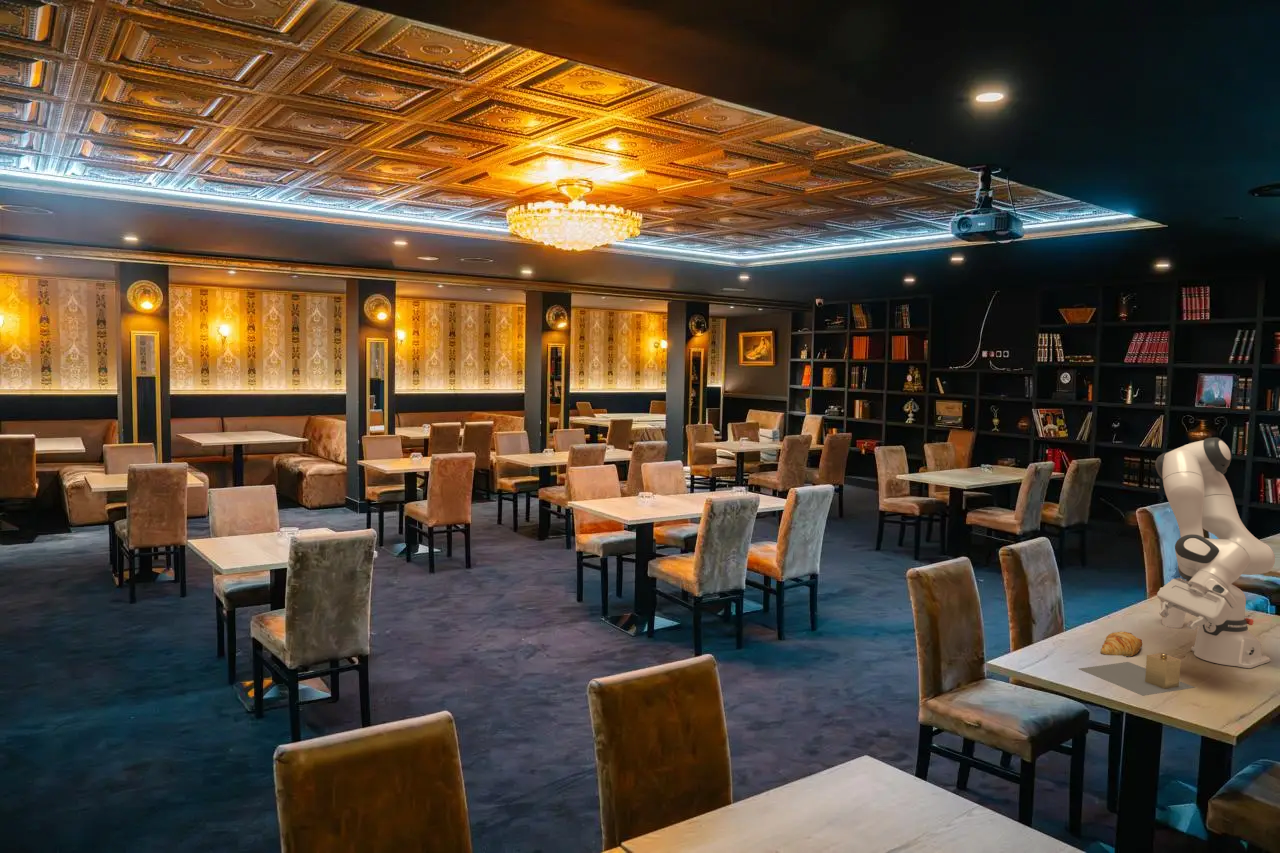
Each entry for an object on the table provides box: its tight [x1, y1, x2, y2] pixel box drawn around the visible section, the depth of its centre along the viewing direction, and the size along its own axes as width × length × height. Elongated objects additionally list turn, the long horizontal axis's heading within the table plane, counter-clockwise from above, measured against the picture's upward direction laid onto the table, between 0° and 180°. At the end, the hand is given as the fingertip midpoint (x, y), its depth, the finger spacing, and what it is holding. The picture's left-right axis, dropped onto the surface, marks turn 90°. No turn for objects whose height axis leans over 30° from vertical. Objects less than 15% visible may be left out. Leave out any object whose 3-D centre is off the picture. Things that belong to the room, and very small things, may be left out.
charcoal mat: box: [1078, 661, 1196, 697], centre depth 251 cm, size 21×22×1 cm
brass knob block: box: [1145, 652, 1182, 689], centre depth 246 cm, size 6×6×9 cm
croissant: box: [1100, 631, 1143, 657], centre depth 276 cm, size 21×10×8 cm, turn 121°
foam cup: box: [1159, 587, 1186, 629], centre depth 307 cm, size 10×9×13 cm
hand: (1175, 621), depth 249 cm, fingers open, 8 cm apart
